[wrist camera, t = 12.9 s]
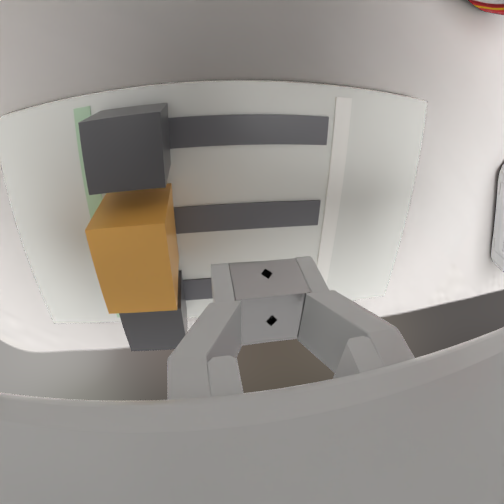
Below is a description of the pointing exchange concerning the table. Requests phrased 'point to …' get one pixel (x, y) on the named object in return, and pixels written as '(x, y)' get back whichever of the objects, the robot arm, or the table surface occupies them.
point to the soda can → (489, 5)
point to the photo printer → (499, 225)
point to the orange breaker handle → (136, 250)
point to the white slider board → (215, 185)
